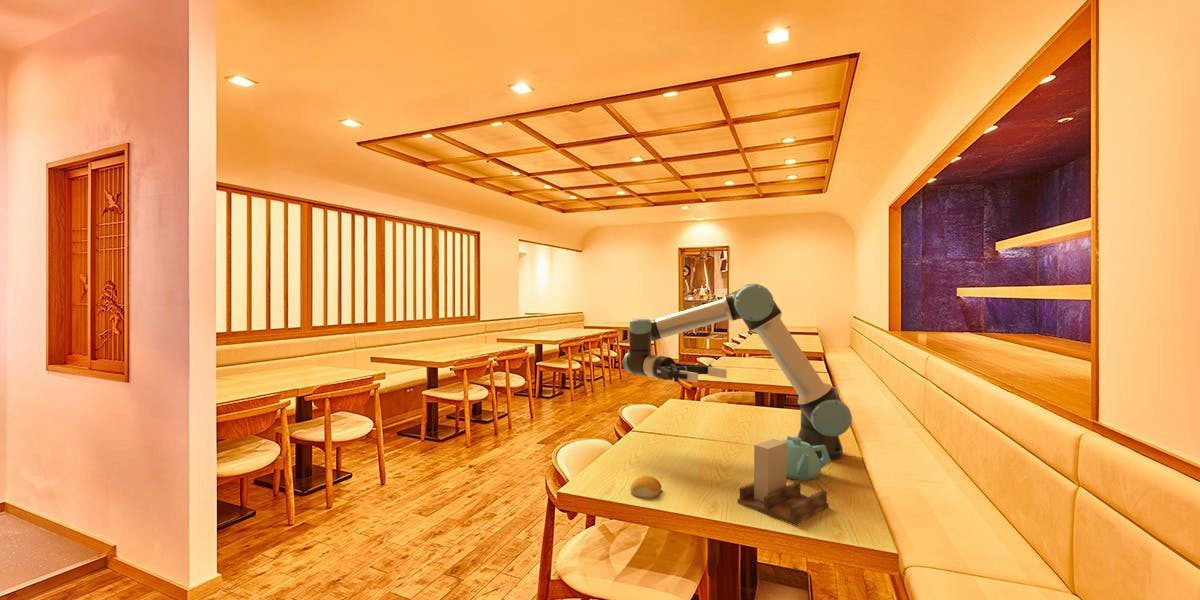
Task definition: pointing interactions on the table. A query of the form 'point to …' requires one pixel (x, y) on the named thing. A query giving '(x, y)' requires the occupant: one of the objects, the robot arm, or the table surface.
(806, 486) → the table surface
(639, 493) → the bread roll
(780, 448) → the cardboard box
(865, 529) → the table surface
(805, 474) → the teapot
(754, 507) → the walnut rack
